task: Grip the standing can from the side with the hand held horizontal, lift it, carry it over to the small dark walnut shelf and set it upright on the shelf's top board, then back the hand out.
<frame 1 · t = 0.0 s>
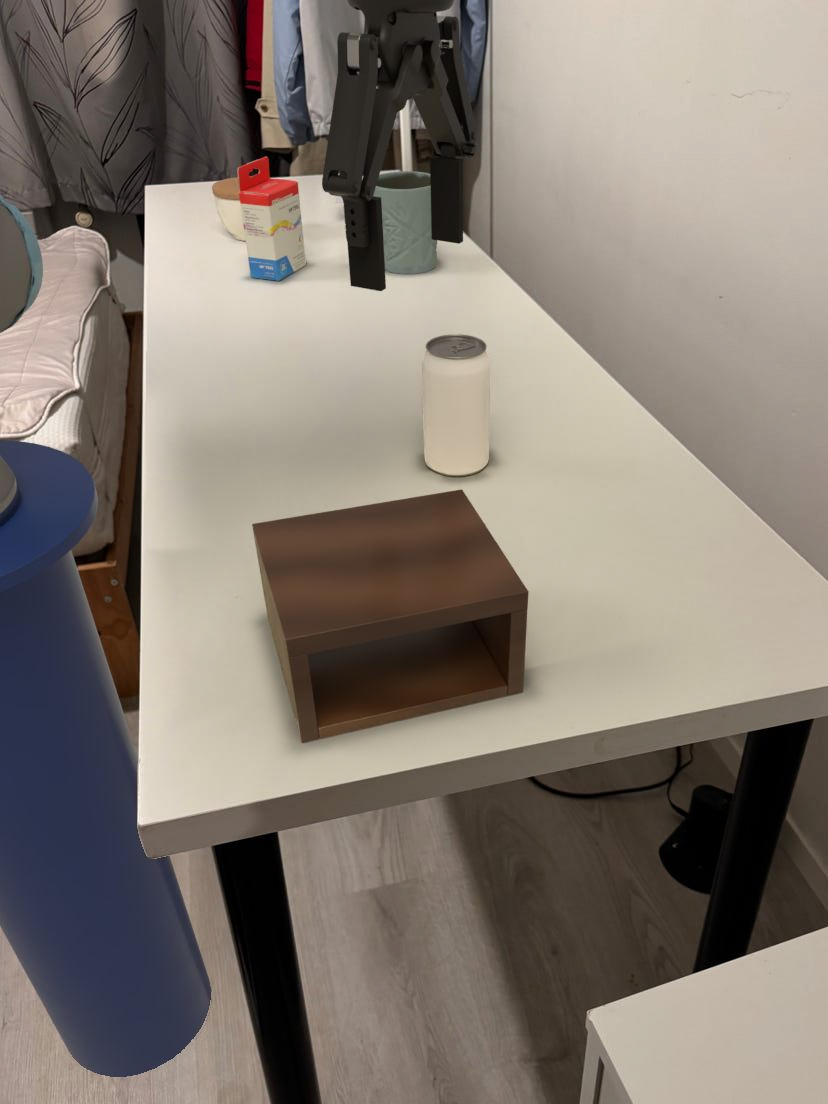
hand: (410, 263, 76), 21 cm above the table, tool pointing down, fingers open, 13 cm apart
trinket box: (253, 237, 151), on the table
ink box: (279, 272, 138), on the table
shelf: (390, 655, 70), on the table
wedge on round base: (377, 218, 161), on the table
green embossed cup: (407, 266, 141), on the table
can: (456, 464, 93), on the table
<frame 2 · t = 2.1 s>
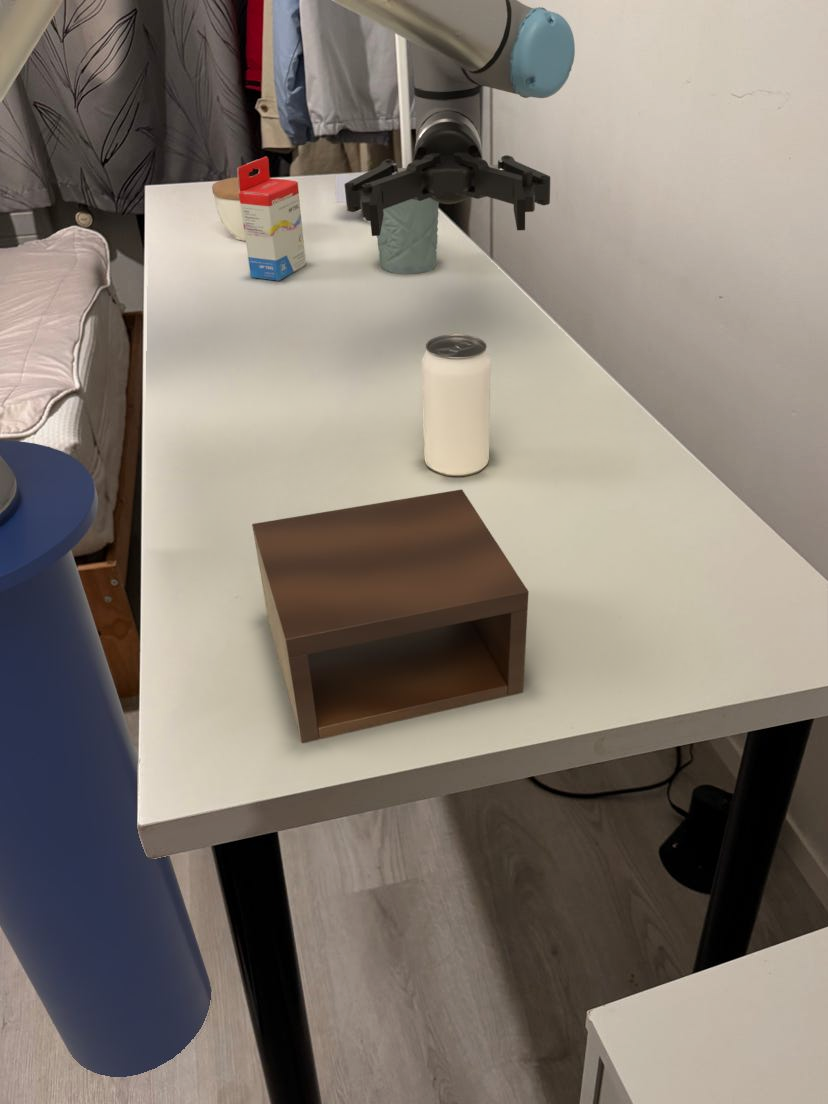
hand: (447, 218, 86), 21 cm above the table, tool horizontal, fingers open, 13 cm apart
nothing on the table moved.
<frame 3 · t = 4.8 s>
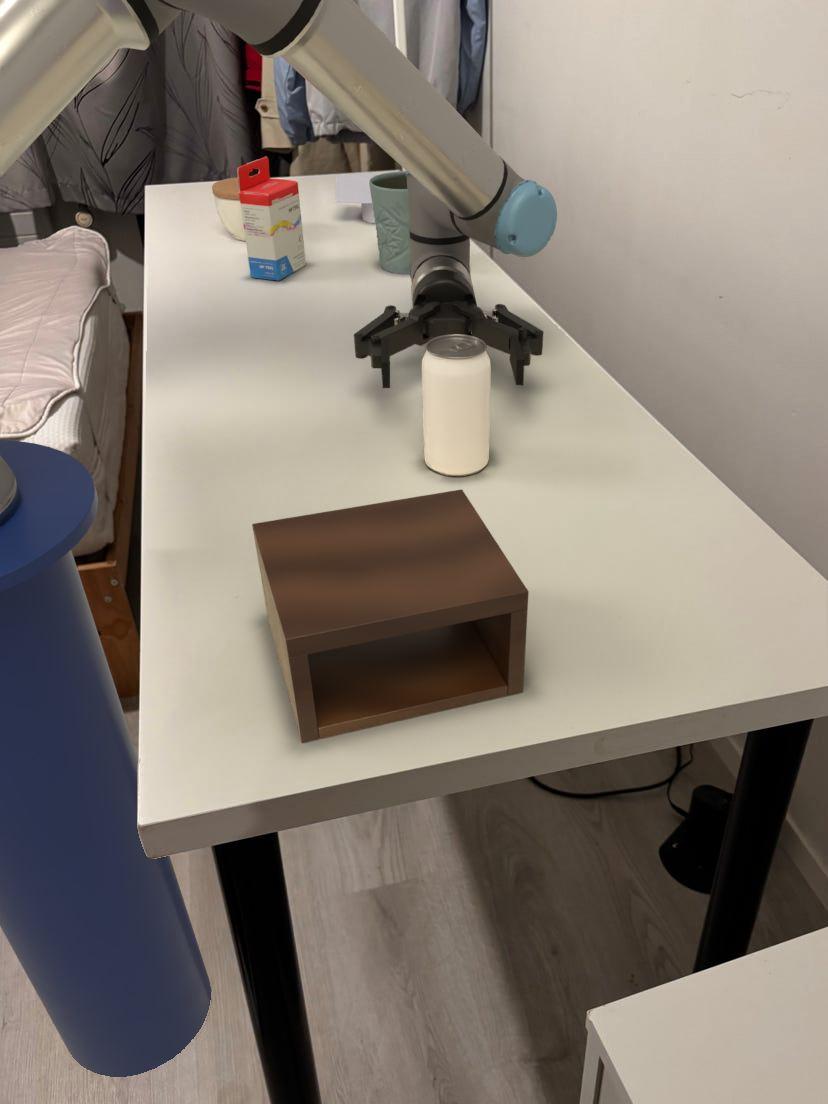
hand: (453, 374, 93), 7 cm above the table, tool horizontal, fingers open, 13 cm apart
nothing on the table moved.
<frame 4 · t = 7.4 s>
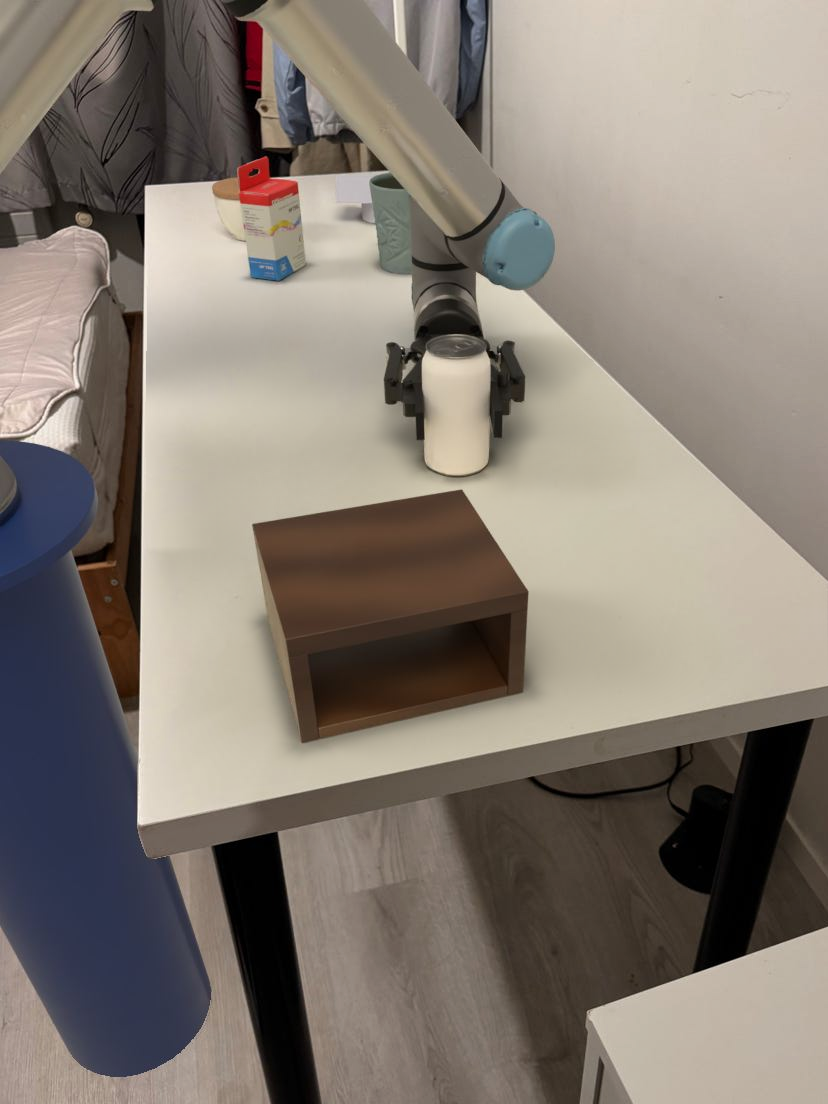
hand: (459, 425, 85), 6 cm above the table, tool horizontal, fingers closed on can, 6 cm apart
can: (456, 463, 93), on the table, touching gripper
everything else where it was.
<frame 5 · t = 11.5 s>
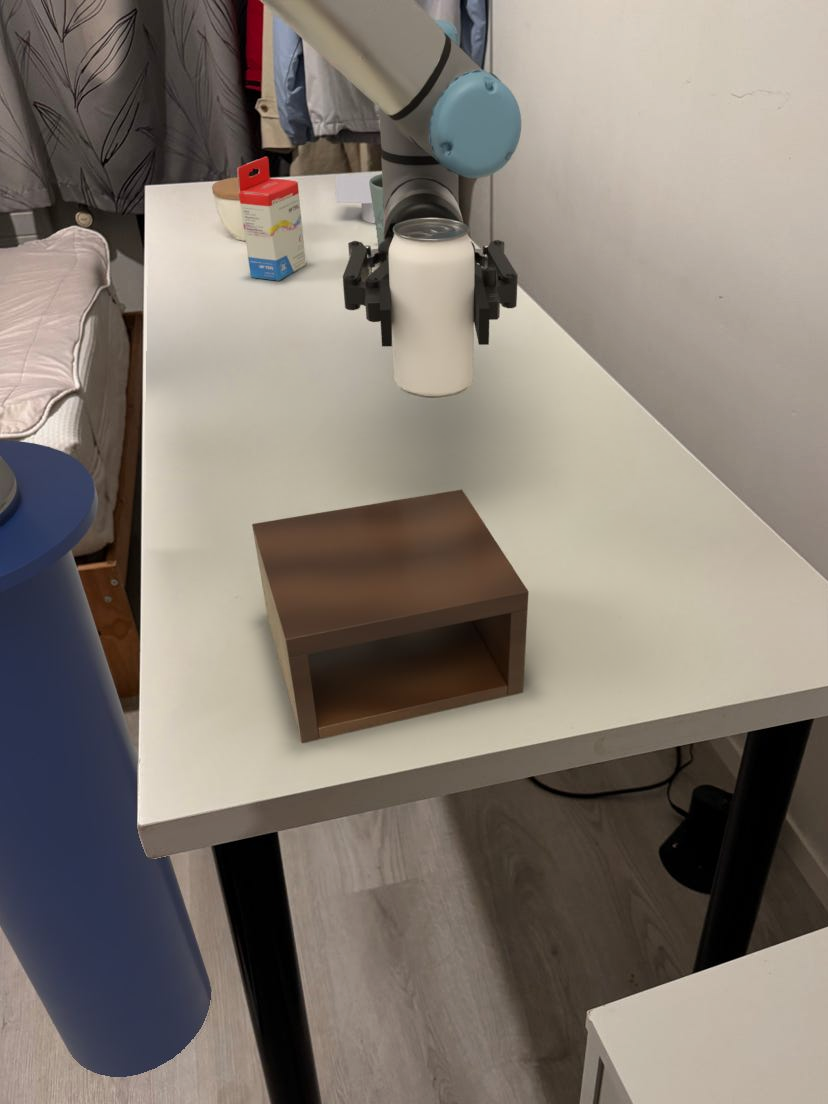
hand: (435, 327, 68), 20 cm above the table, tool horizontal, fingers closed on can, 6 cm apart
can: (433, 385, 76), point 13 cm above the table, touching gripper
everything else where it was.
when the fingers open (15 cm above the table, at t = 15.5 s): can stays where it is, resting on shelf.
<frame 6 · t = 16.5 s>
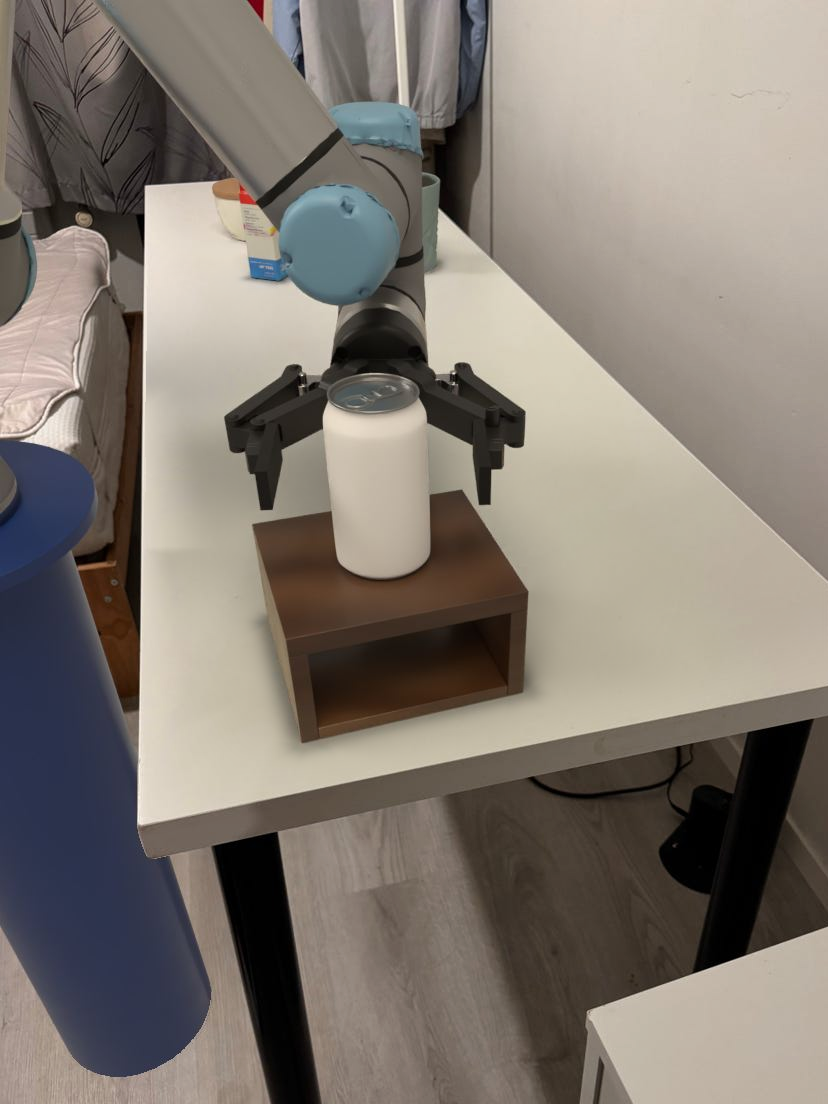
hand: (375, 489, 57), 16 cm above the table, tool horizontal, fingers open, 13 cm apart
can: (384, 558, 64), point 9 cm above the table, touching shelf
everything else where it was.
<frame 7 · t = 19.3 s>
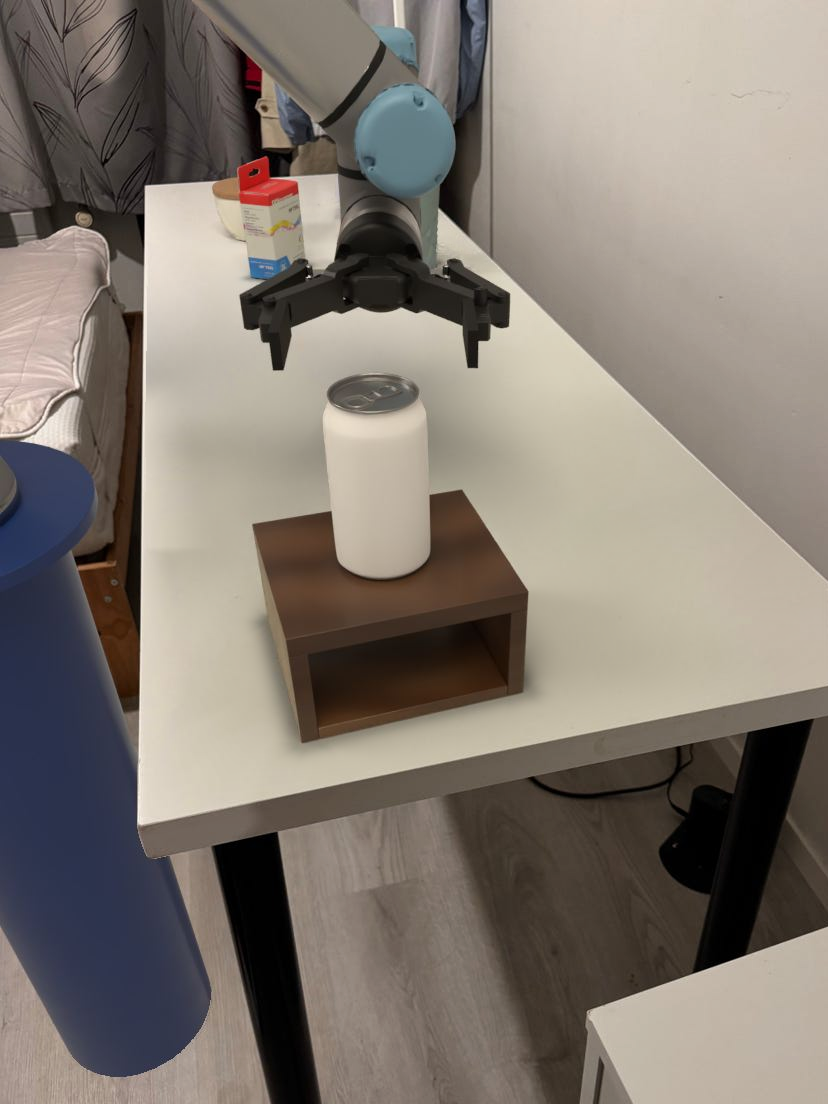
hand: (375, 351, 64), 20 cm above the table, tool horizontal, fingers open, 13 cm apart
nothing on the table moved.
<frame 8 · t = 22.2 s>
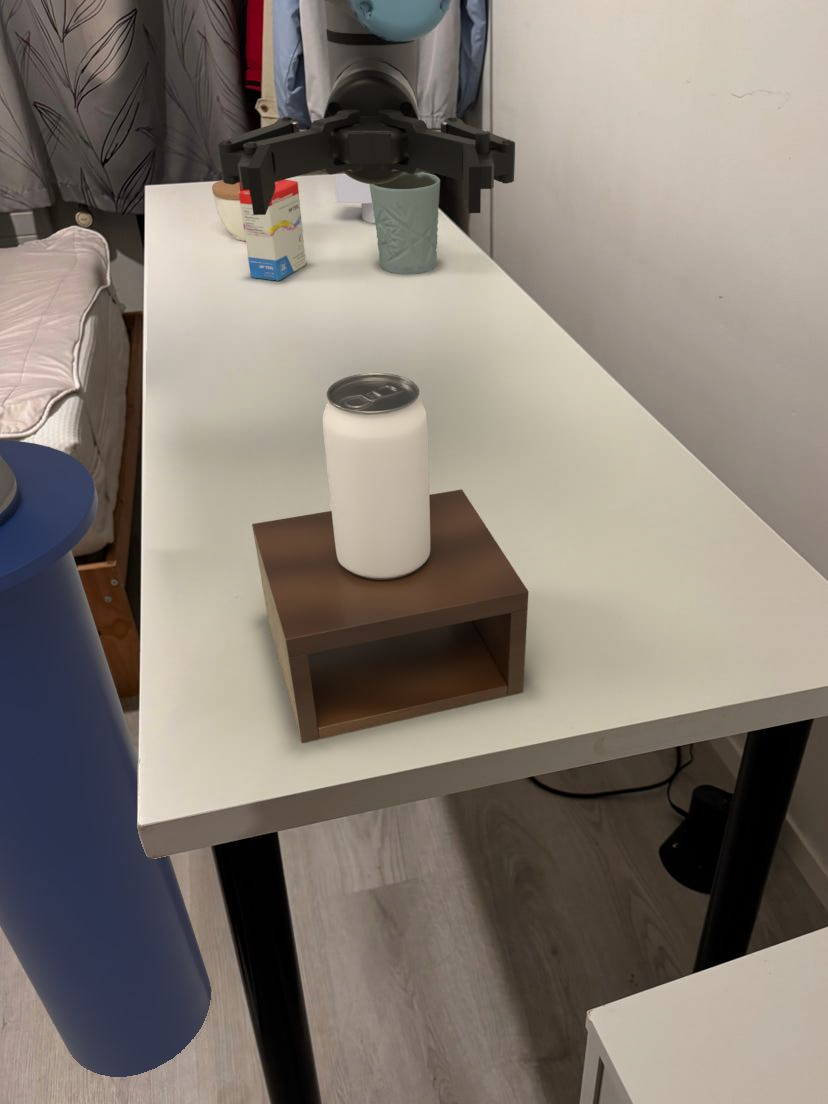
hand: (366, 191, 58), 30 cm above the table, tool horizontal, fingers open, 13 cm apart
nothing on the table moved.
at the end: can inside the target area on the shelf (0.0 cm from its centre), point 8.8 cm above the shelf's base; can tilted 0°; the gripper is holding nothing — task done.
